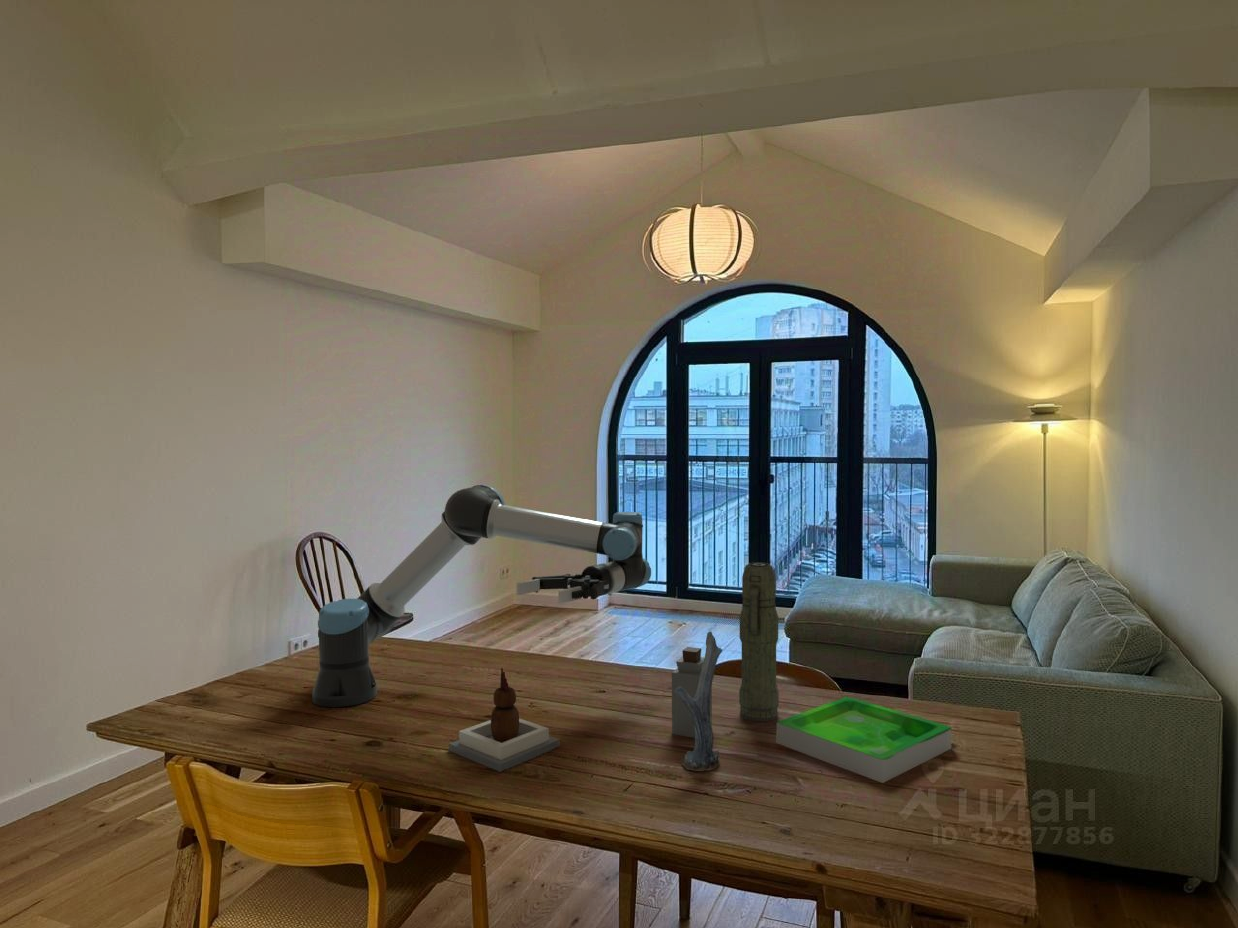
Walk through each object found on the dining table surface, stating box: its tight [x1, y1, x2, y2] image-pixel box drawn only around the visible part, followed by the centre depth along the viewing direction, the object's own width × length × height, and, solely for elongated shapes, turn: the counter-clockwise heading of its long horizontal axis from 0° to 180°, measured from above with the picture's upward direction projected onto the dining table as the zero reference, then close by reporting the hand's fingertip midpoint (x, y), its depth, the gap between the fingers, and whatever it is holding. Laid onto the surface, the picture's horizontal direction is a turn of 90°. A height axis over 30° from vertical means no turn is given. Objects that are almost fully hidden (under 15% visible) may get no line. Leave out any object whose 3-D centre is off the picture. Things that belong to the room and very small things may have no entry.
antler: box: [675, 630, 723, 772], centre depth 157 cm, size 12×8×25 cm
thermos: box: [738, 561, 780, 722], centre depth 183 cm, size 9×12×35 cm
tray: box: [776, 696, 952, 784], centre depth 165 cm, size 25×25×5 cm
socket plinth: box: [448, 717, 560, 773], centre depth 165 cm, size 16×16×4 cm
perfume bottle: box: [671, 646, 713, 739], centre depth 174 cm, size 7×7×18 cm
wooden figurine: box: [490, 667, 520, 743], centre depth 164 cm, size 7×6×15 cm
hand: (537, 592), depth 178 cm, fingers open, 13 cm apart
